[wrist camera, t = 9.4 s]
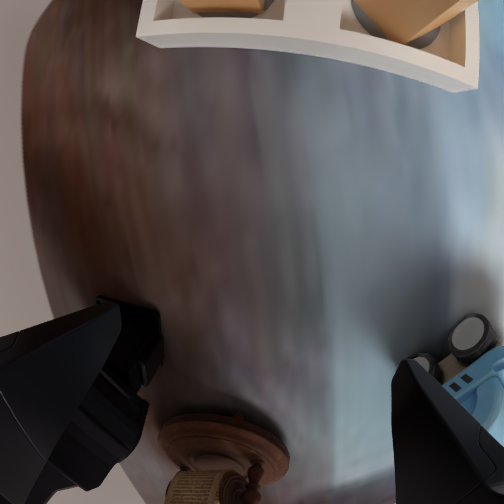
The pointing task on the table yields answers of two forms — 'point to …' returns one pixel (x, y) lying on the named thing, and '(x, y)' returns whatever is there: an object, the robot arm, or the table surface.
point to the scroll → (220, 459)
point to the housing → (324, 37)
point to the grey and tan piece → (224, 6)
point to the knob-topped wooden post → (411, 16)
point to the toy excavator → (473, 372)
